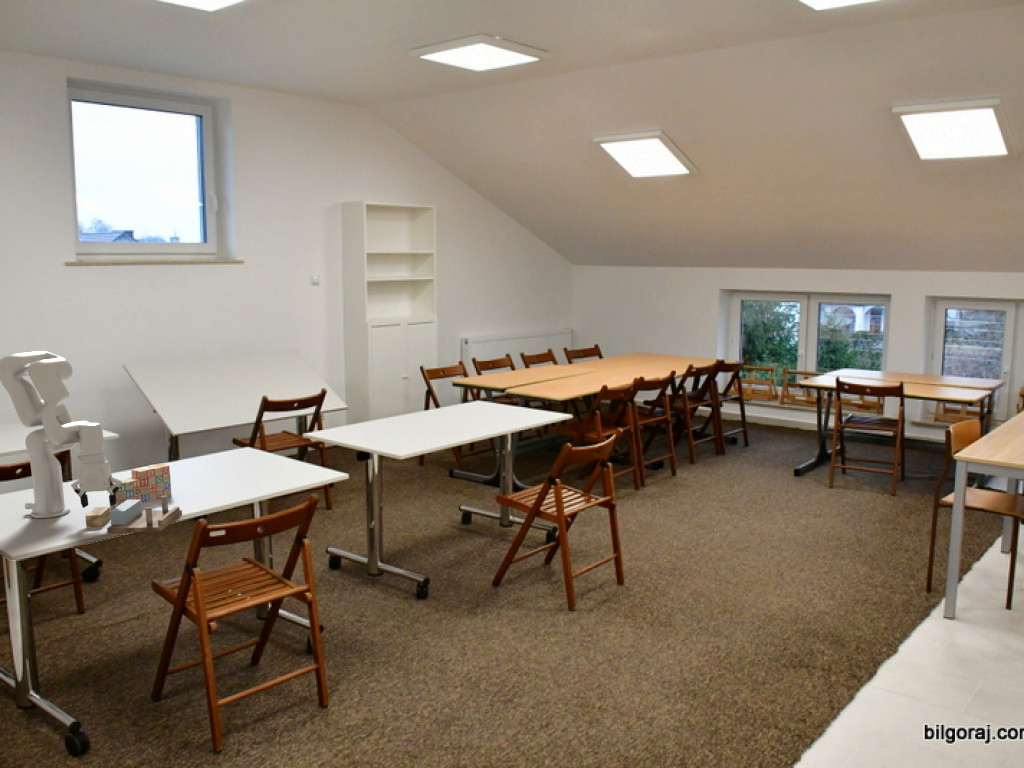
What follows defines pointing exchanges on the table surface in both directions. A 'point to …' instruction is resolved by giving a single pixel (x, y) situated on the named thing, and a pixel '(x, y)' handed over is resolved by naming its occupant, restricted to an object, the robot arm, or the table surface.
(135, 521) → the base
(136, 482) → the stack of blocks
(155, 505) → the table surface
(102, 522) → the wooden block
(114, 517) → the light blue long block
